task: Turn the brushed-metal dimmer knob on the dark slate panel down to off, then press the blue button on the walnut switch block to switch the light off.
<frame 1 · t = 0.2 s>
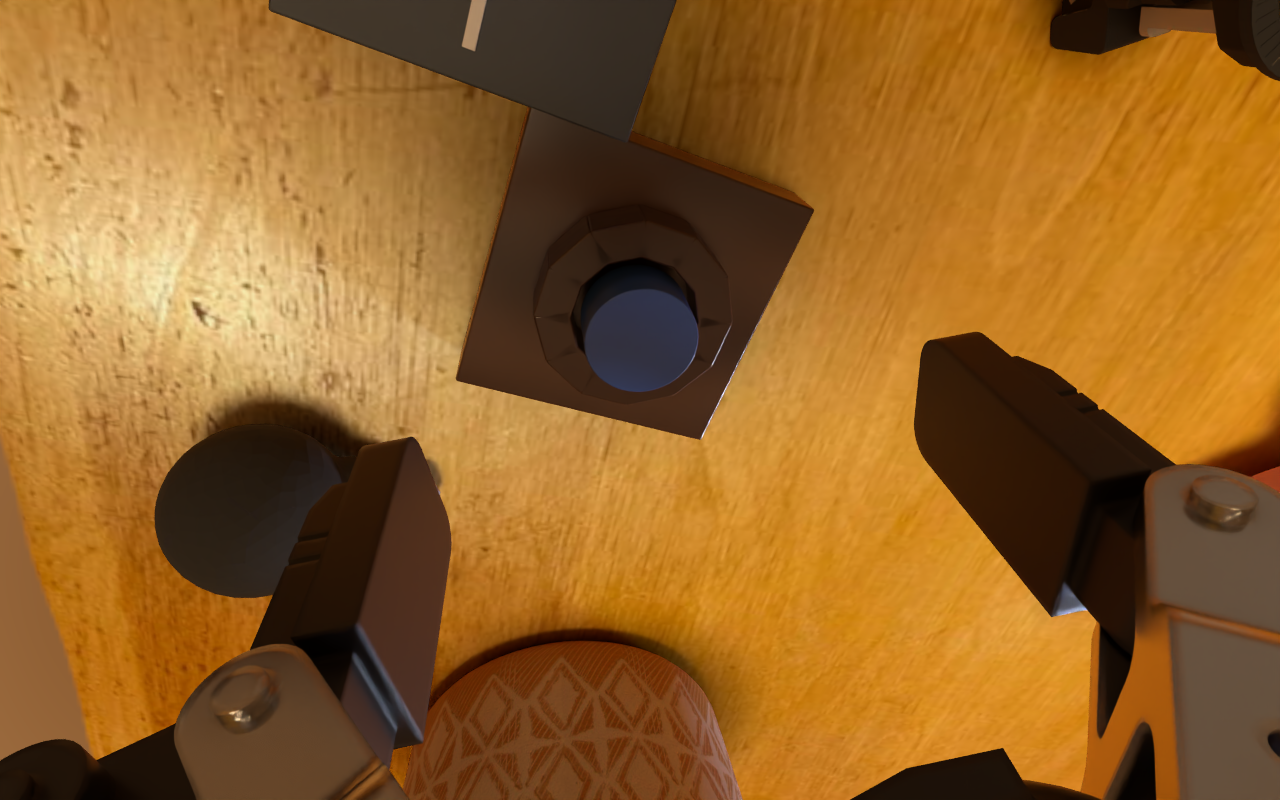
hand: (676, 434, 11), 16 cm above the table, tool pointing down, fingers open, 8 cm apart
light bulb: (318, 454, 28), on the table
planter: (567, 721, 40), on the table
teapot: (1242, 527, 39), on the table
switch button: (637, 328, 22), point 5 cm above the table, slide at 0.1 cm
switch block: (622, 275, 26), on the table
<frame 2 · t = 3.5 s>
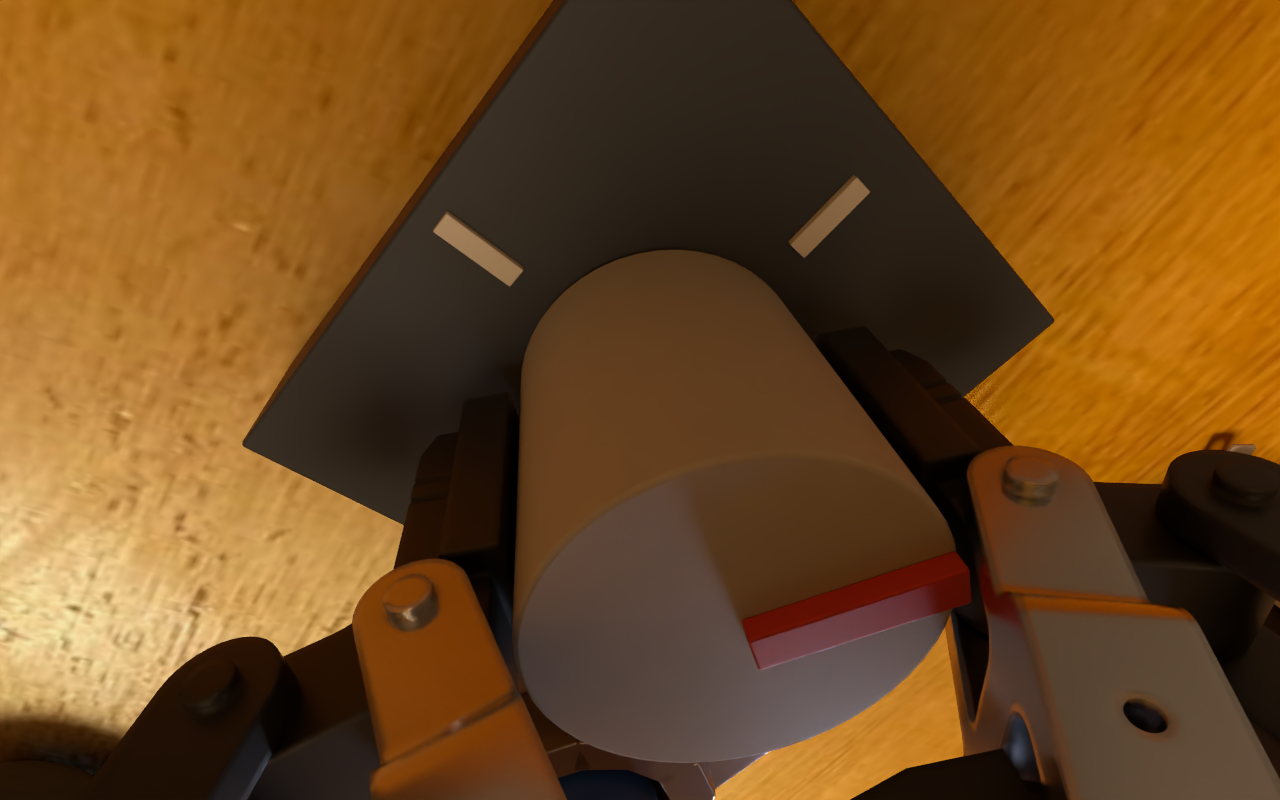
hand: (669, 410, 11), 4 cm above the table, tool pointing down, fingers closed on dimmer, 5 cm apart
push button: (1165, 518, 21), on the table
light bulb: (103, 775, 21), on the table
dimmer panel: (640, 311, 15), on the table
switch block: (581, 682, 21), on the table
dimmer: (695, 486, 10), point 6 cm above the table, hinge at 150.2°, touching gripper
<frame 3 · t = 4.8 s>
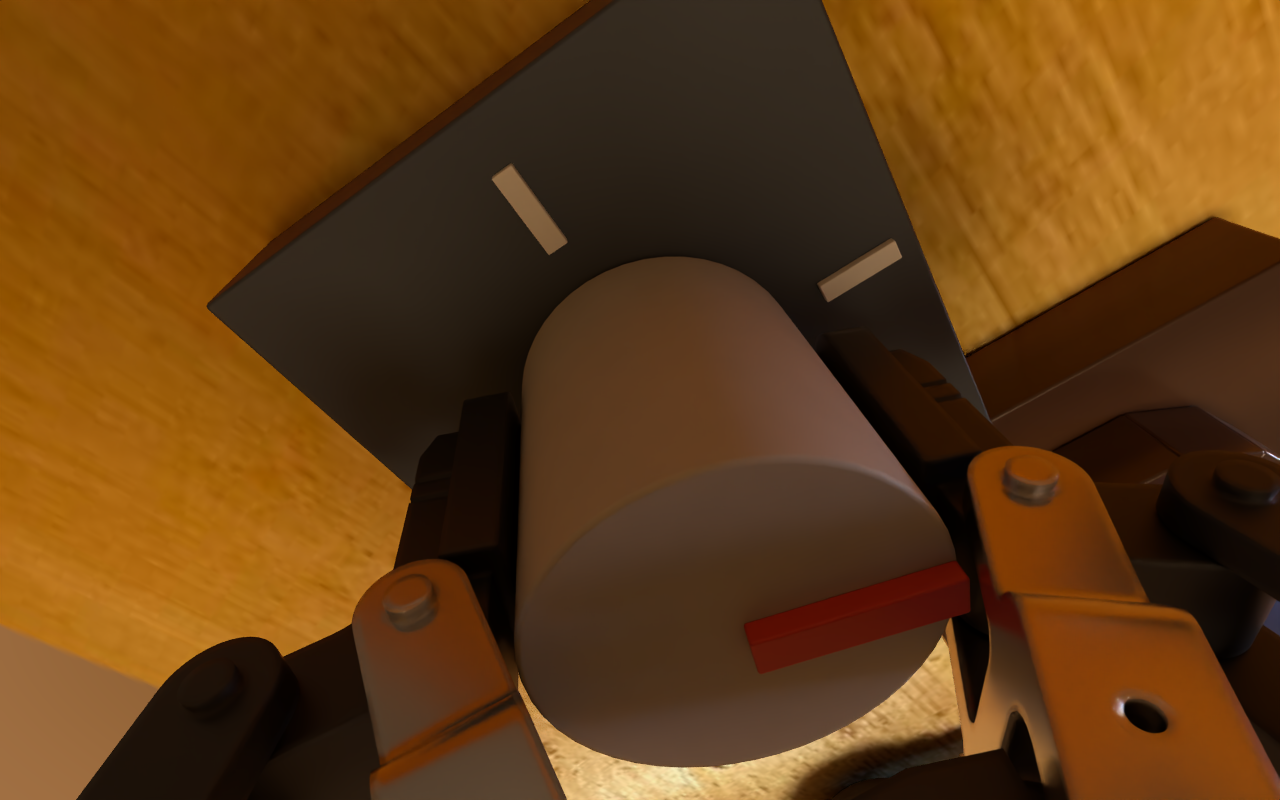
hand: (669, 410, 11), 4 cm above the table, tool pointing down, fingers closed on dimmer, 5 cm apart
light bulb: (884, 769, 26), on the table
dimmer panel: (640, 318, 15), on the table
switch button: (1190, 592, 15), point 5 cm above the table, slide at 0.1 cm
switch block: (1053, 465, 19), on the table
dimmer: (695, 491, 10), point 6 cm above the table, hinge at 73.6°, touching gripper
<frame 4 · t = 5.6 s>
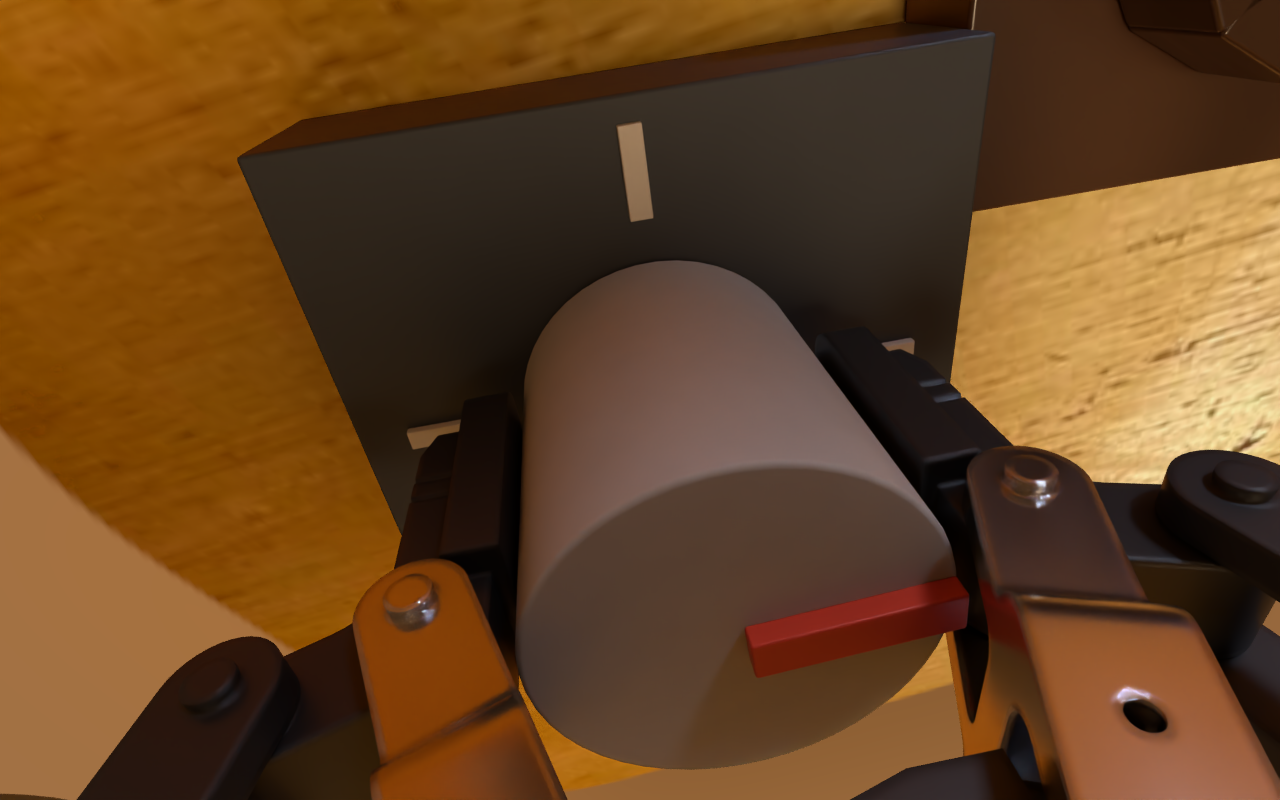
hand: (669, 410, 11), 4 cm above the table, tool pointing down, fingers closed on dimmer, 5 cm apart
dimmer panel: (642, 320, 15), on the table
dimmer: (696, 494, 10), point 6 cm above the table, hinge at 4.0°, touching gripper
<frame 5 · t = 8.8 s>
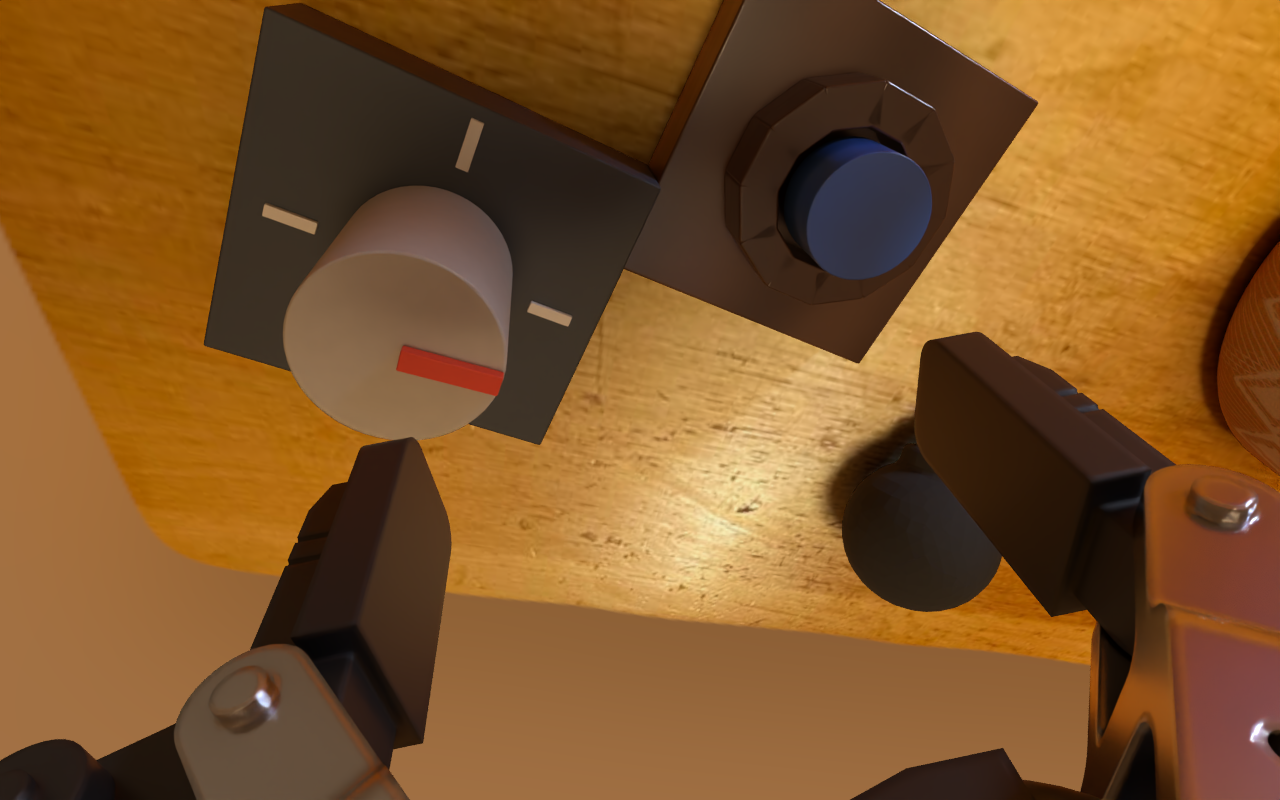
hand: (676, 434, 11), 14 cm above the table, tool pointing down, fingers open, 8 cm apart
light bulb: (893, 463, 31), on the table
dimmer panel: (440, 236, 23), on the table
switch button: (854, 208, 20), point 5 cm above the table, slide at 0.1 cm
switch block: (801, 170, 23), on the table
dimmer: (414, 308, 18), point 6 cm above the table, hinge at 3.7°
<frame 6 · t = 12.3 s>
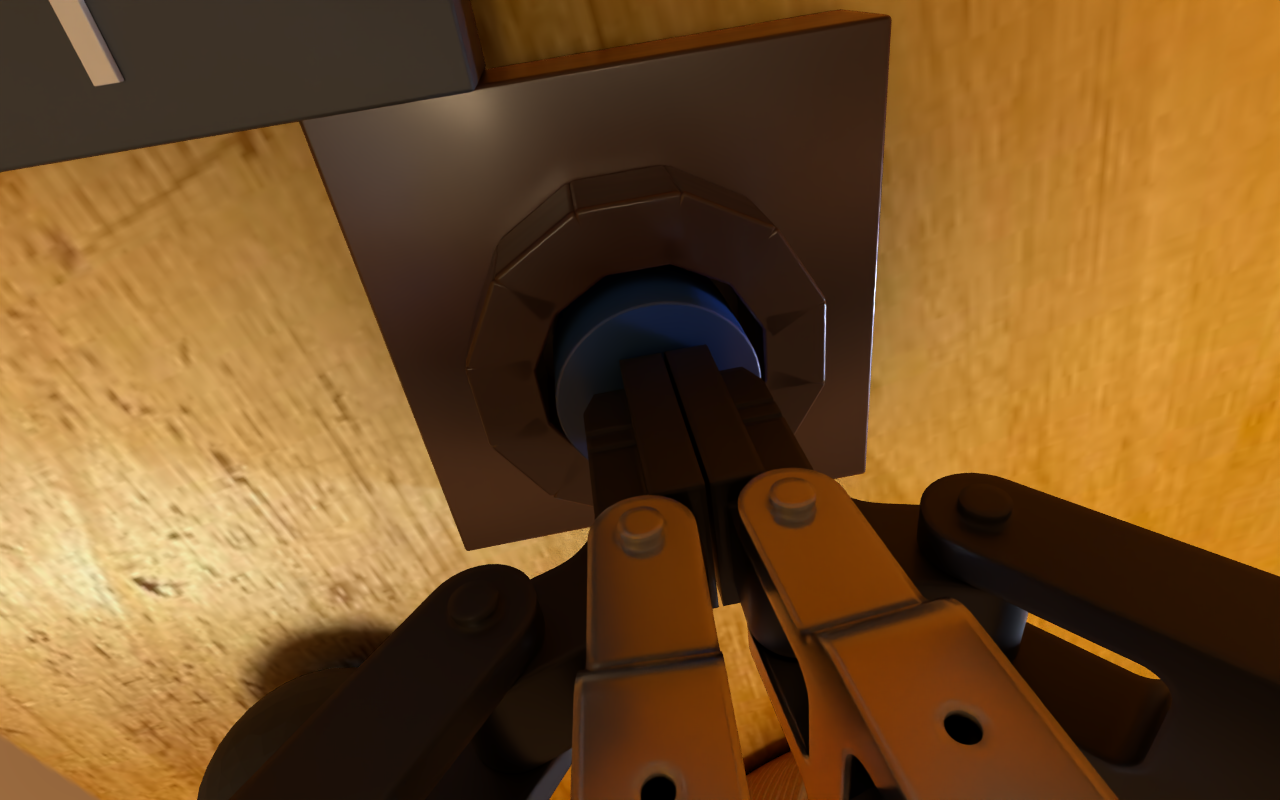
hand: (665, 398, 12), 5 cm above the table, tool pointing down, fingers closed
light bulb: (388, 669, 22), on the table
switch button: (651, 369, 13), point 4 cm above the table, slide at -0.8 cm, touching gripper
switch block: (628, 290, 16), on the table
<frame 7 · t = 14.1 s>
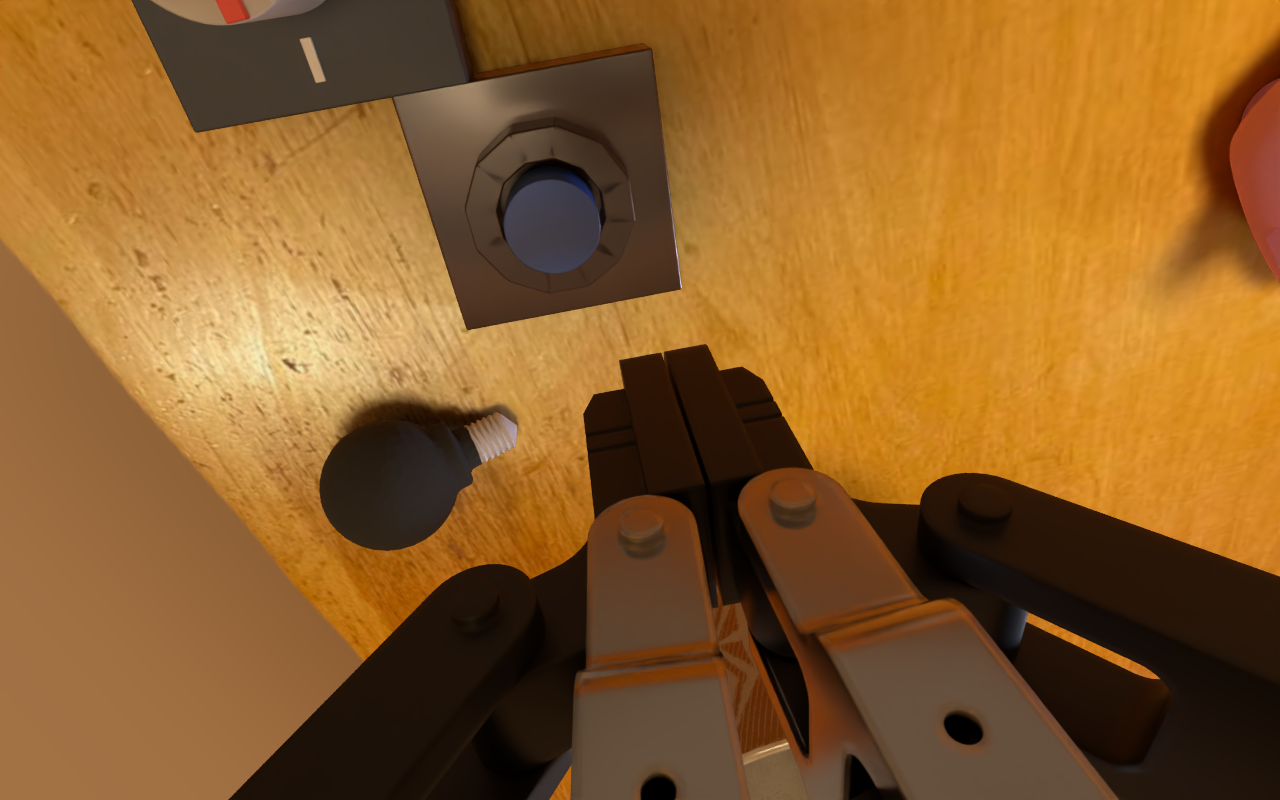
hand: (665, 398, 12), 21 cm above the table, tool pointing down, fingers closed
light bulb: (422, 434, 36), on the table
planter: (736, 580, 45), on the table
switch button: (552, 220, 26), point 5 cm above the table, slide at 0.1 cm
switch block: (550, 188, 30), on the table
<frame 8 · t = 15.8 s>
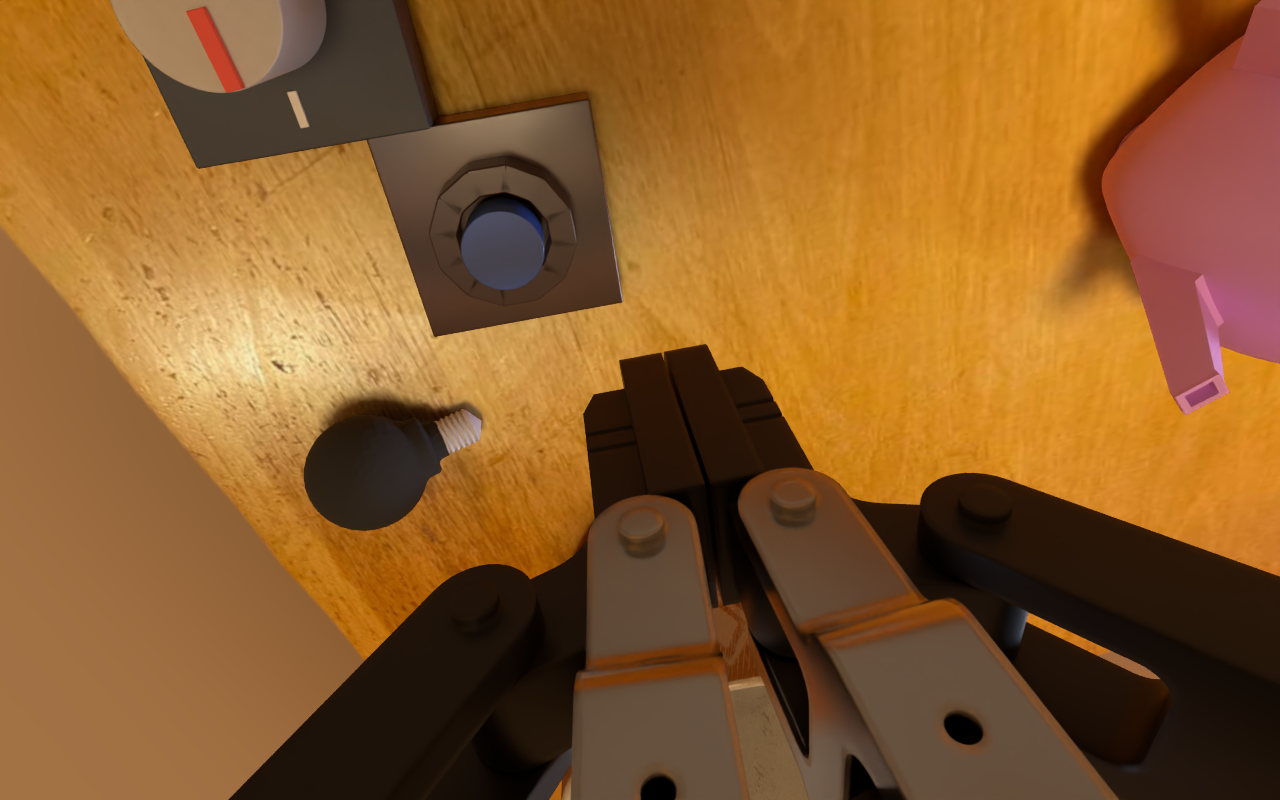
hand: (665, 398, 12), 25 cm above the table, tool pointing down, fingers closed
light bulb: (397, 428, 40), on the table
planter: (686, 563, 50), on the table
teapot: (1220, 149, 38), on the table
switch button: (503, 244, 31), point 5 cm above the table, slide at 0.1 cm
switch block: (507, 213, 34), on the table
dimmer: (228, 4, 23), point 6 cm above the table, hinge at 3.7°
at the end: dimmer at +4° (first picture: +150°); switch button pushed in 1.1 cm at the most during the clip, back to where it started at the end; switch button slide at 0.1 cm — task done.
